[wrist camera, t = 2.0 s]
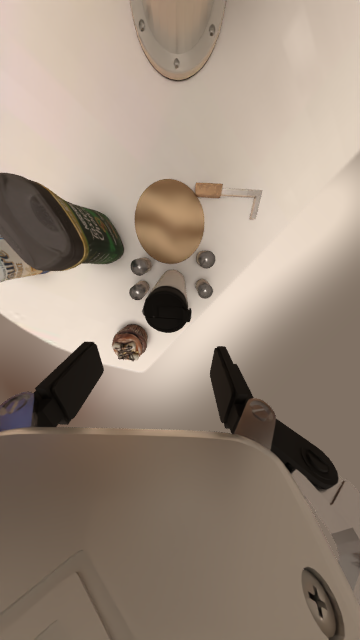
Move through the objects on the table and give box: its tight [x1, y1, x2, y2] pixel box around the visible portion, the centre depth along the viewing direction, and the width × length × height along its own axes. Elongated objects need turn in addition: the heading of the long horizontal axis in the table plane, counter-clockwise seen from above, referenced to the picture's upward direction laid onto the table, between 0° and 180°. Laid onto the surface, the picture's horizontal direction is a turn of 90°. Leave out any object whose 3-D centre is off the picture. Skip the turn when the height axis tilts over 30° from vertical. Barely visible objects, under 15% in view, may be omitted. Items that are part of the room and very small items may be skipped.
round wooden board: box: [135, 179, 204, 264], centre depth 29 cm, size 15×15×1 cm
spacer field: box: [129, 251, 215, 316], centre depth 33 cm, size 16×19×6 cm
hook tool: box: [195, 183, 262, 220], centre depth 27 cm, size 13×5×2 cm, turn 88°
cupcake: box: [112, 324, 147, 361], centre depth 38 cm, size 10×10×10 cm
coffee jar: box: [0, 173, 123, 271], centre depth 23 cm, size 10×8×19 cm
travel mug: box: [143, 270, 191, 333], centre depth 26 cm, size 6×7×20 cm
